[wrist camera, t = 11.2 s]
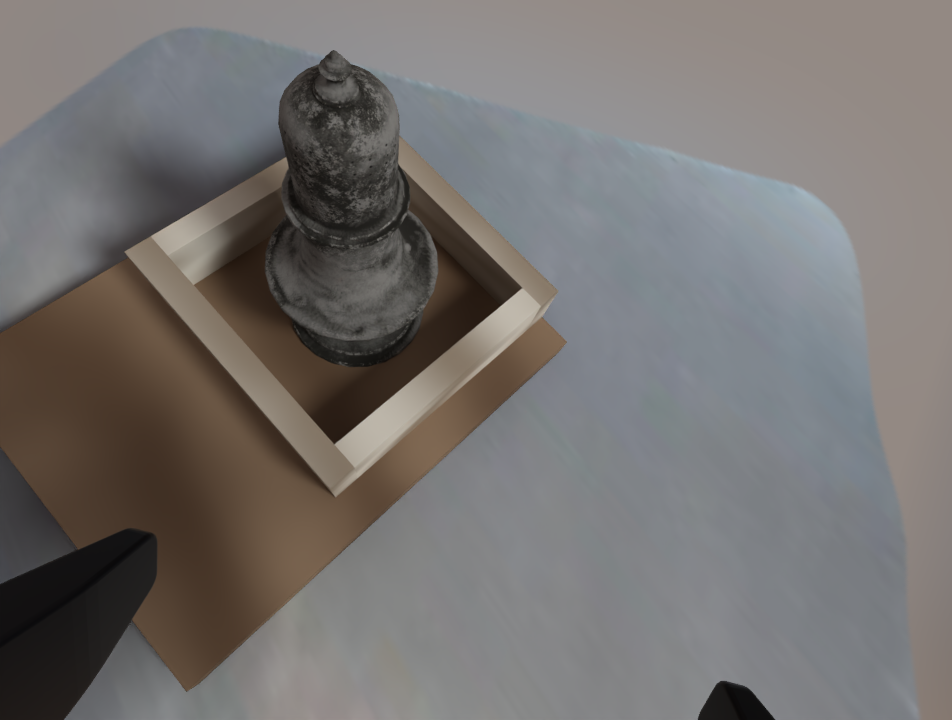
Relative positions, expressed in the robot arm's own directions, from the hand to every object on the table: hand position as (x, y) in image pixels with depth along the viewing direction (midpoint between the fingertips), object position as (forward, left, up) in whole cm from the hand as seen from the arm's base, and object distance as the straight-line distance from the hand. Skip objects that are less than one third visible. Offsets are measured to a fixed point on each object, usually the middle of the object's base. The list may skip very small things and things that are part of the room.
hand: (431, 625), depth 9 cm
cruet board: (+2, +10, -13) cm, 16 cm away
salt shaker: (+6, +9, -11) cm, 16 cm away
